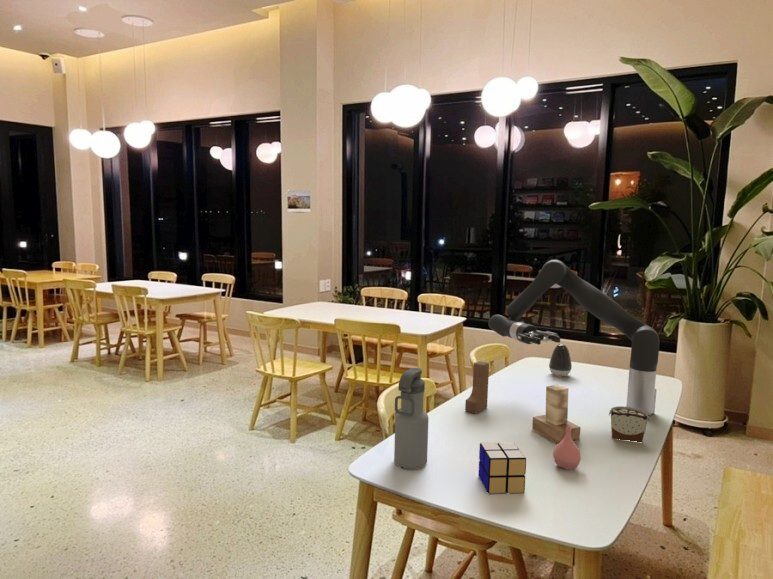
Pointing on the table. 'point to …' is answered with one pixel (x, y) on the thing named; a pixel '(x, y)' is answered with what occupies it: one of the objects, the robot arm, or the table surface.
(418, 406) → the water bottle
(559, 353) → the grey egg shape
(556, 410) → the oak post
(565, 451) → the pink vase
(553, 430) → the base block
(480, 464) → the puzzle cube
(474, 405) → the wooden block
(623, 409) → the food container
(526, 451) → the table surface
